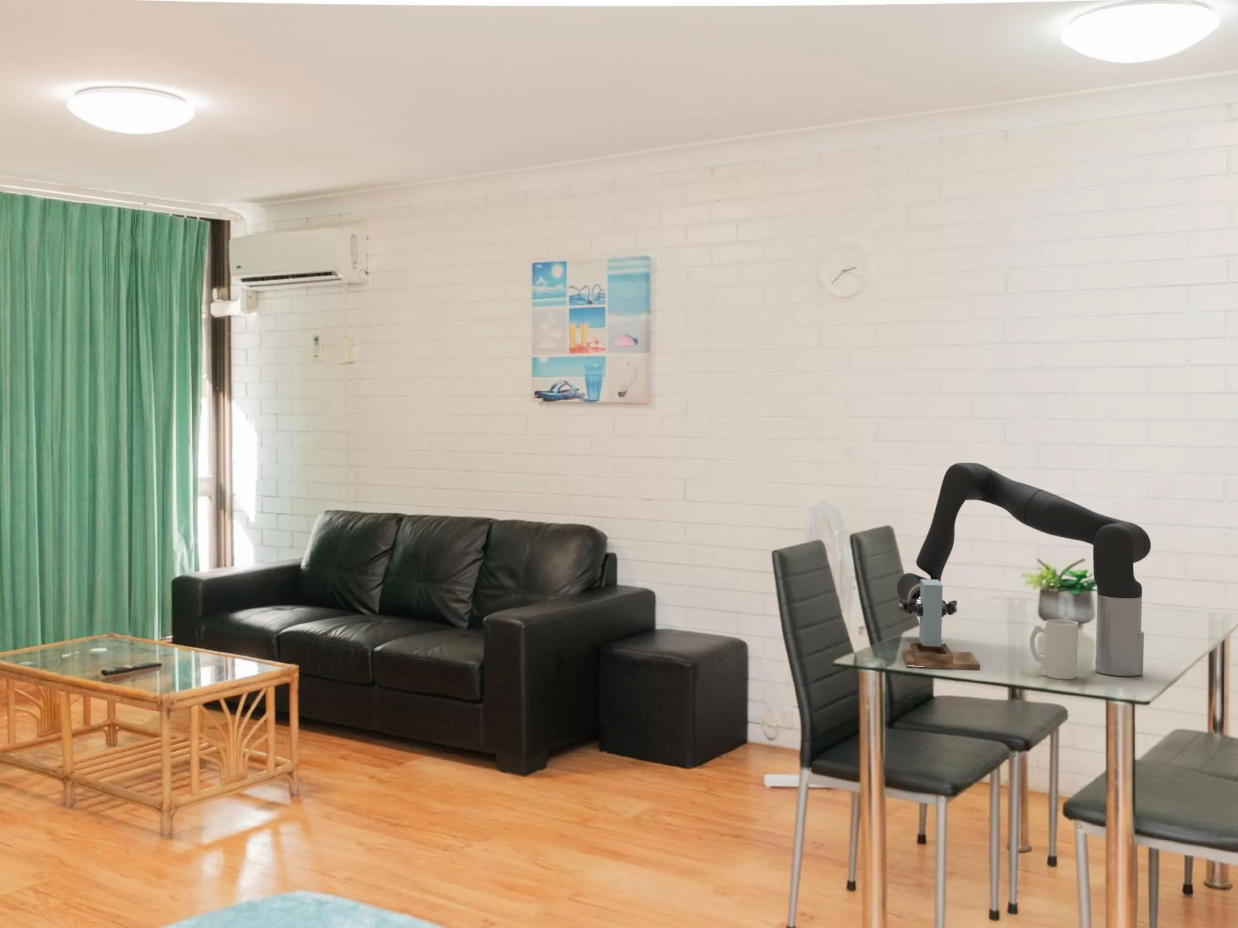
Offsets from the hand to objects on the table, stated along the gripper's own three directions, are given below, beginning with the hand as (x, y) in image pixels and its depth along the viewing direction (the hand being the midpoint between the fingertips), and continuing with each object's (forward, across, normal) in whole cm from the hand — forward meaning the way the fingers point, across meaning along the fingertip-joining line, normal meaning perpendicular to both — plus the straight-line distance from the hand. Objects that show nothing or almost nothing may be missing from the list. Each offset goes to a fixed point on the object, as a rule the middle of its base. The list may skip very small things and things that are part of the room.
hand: (932, 611), depth 279 cm
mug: (+9, +25, +12) cm, 29 cm away
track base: (-2, +2, +12) cm, 12 cm away
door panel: (-3, 0, +8) cm, 8 cm away
